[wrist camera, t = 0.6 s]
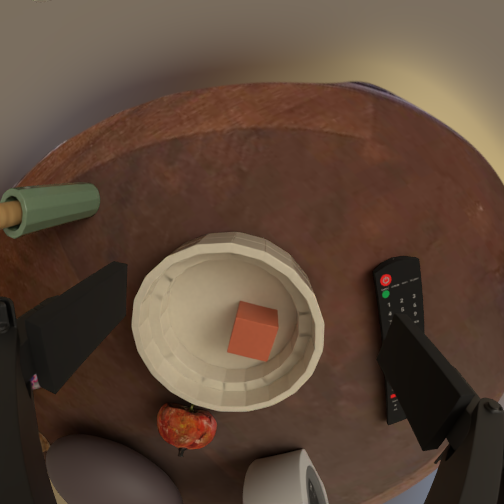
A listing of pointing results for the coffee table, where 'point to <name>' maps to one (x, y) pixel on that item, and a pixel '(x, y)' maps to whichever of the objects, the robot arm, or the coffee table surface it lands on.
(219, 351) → the bowl
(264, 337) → the block
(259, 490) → the alarm clock
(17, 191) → the holder
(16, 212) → the stick
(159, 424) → the pomegranate
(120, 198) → the coffee table surface
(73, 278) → the coffee table surface
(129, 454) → the flattened ellipsoid
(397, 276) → the remote control
